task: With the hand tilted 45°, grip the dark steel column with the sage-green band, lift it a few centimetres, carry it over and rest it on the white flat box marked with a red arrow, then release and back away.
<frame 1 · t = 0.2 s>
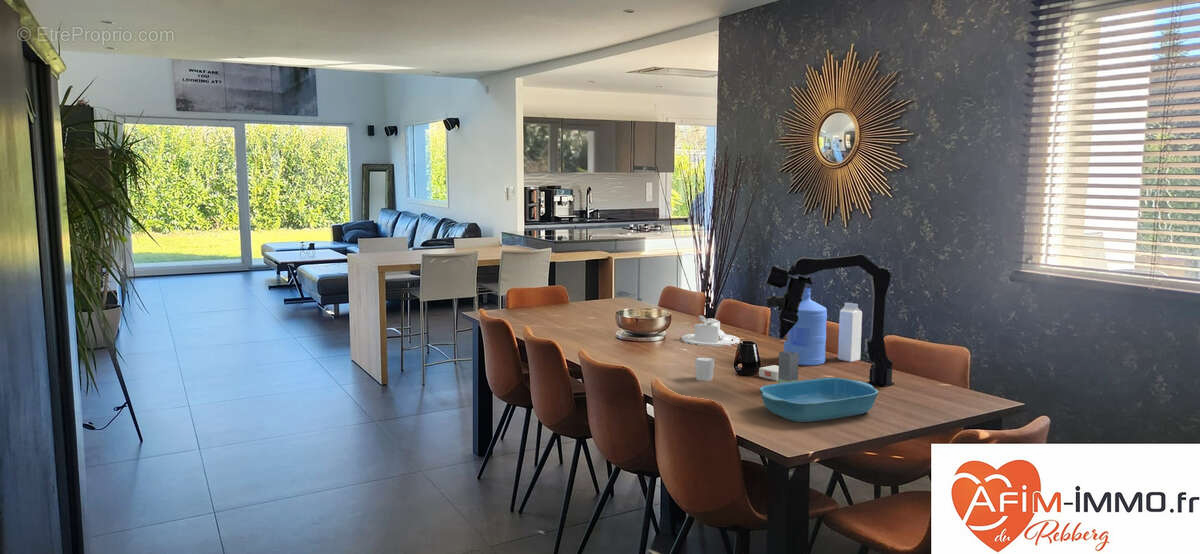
hand: (780, 335, 280), 15 cm above the table, tool tilted 15°, fingers open, 9 cm apart
white flat box: (775, 376, 285), on the table
water jug: (804, 362, 310), on the table
white cylinder: (704, 379, 282), on the table
column: (787, 388, 269), on the table
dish: (710, 341, 351), on the table
casserole dish: (817, 412, 243), on the table
milk: (849, 360, 314), on the table
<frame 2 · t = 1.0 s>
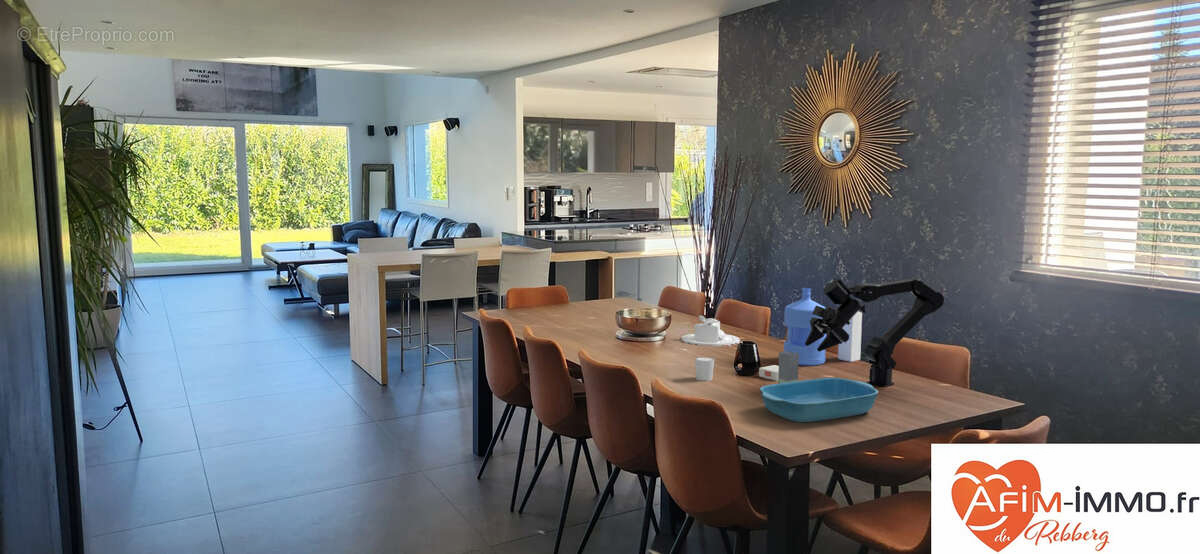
hand: (811, 347, 269), 13 cm above the table, tool tilted 45°, fingers open, 9 cm apart
nothing on the table moved.
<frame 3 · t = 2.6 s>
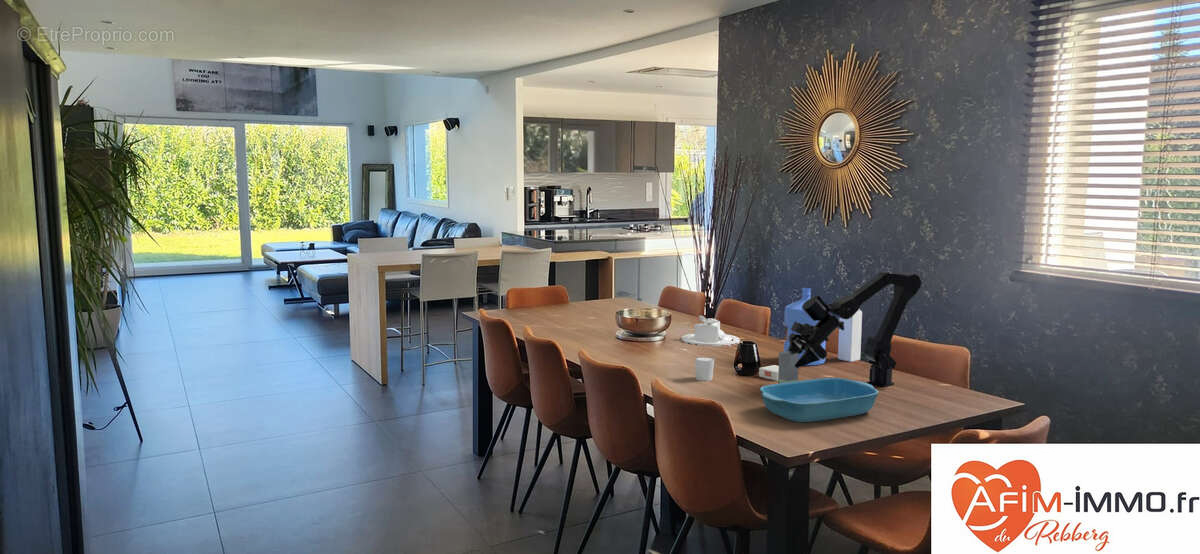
hand: (789, 363, 268), 8 cm above the table, tool tilted 45°, fingers open, 9 cm apart
nothing on the table moved.
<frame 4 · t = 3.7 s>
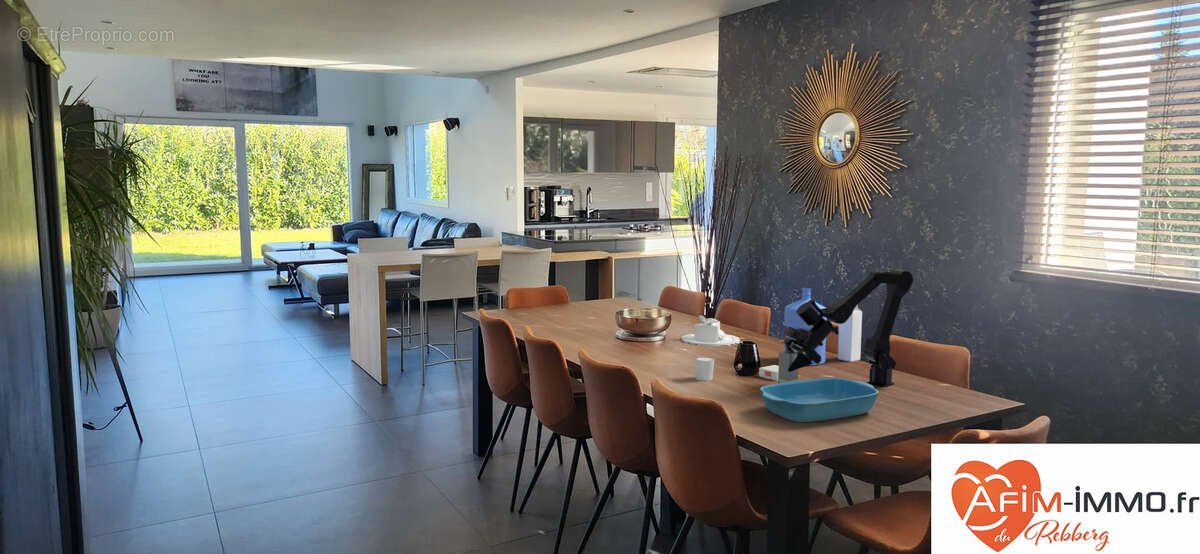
hand: (784, 368, 268), 7 cm above the table, tool tilted 45°, fingers closed on column, 6 cm apart
column: (787, 388, 269), on the table, touching gripper
everything else where it was.
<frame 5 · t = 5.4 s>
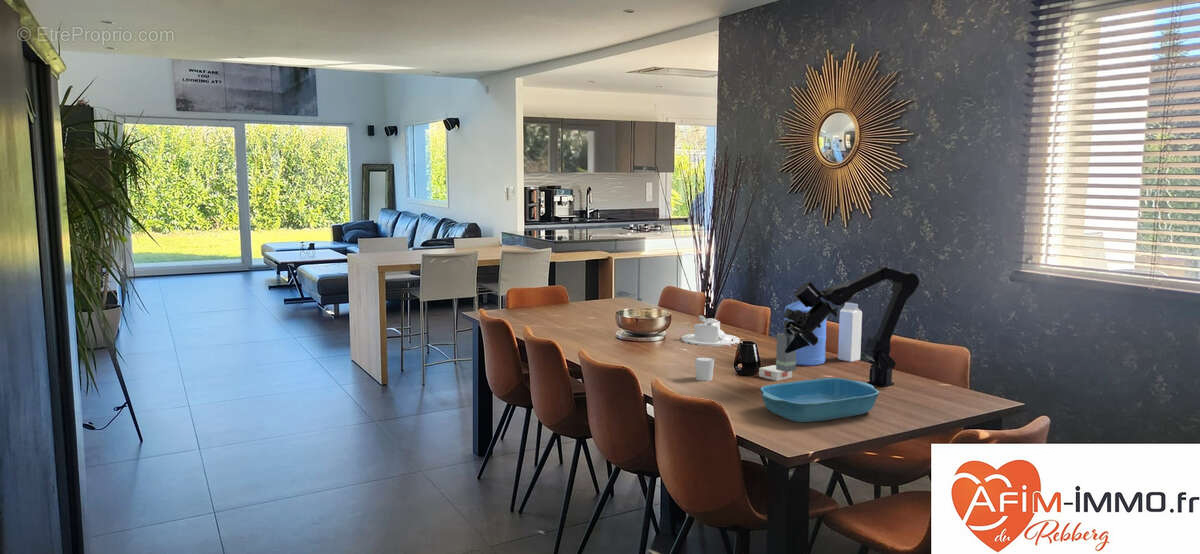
hand: (782, 350, 270), 12 cm above the table, tool tilted 45°, fingers closed on column, 6 cm apart
column: (785, 369, 270), point 6 cm above the table, touching gripper
everything else where it was.
when the fingers open (10 cm above the table, at t = 7.4 s): column stays where it is, resting on white flat box.
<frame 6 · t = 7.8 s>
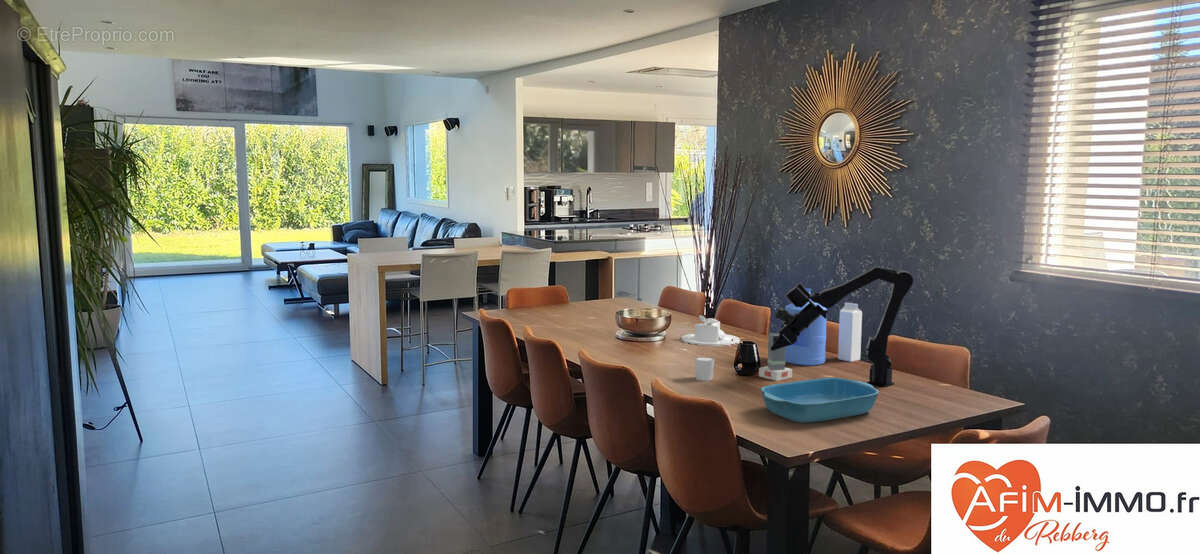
hand: (772, 347, 284), 11 cm above the table, tool tilted 45°, fingers open, 9 cm apart
column: (776, 368, 284), point 3 cm above the table, touching white flat box
everything else where it was.
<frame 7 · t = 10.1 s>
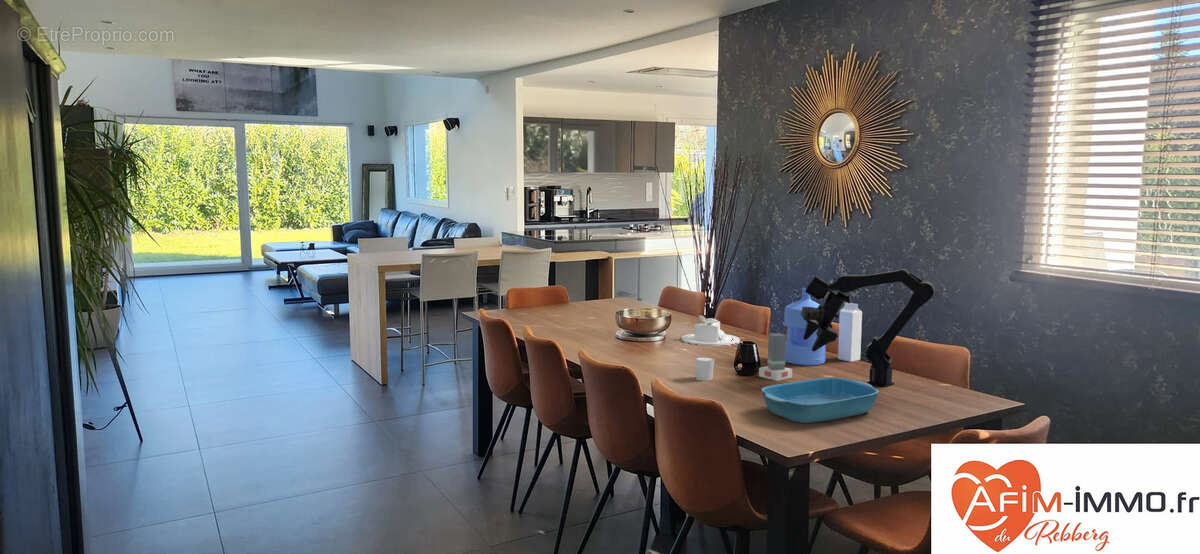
hand: (808, 345, 284), 11 cm above the table, tool tilted 30°, fingers open, 9 cm apart
nothing on the table moved.
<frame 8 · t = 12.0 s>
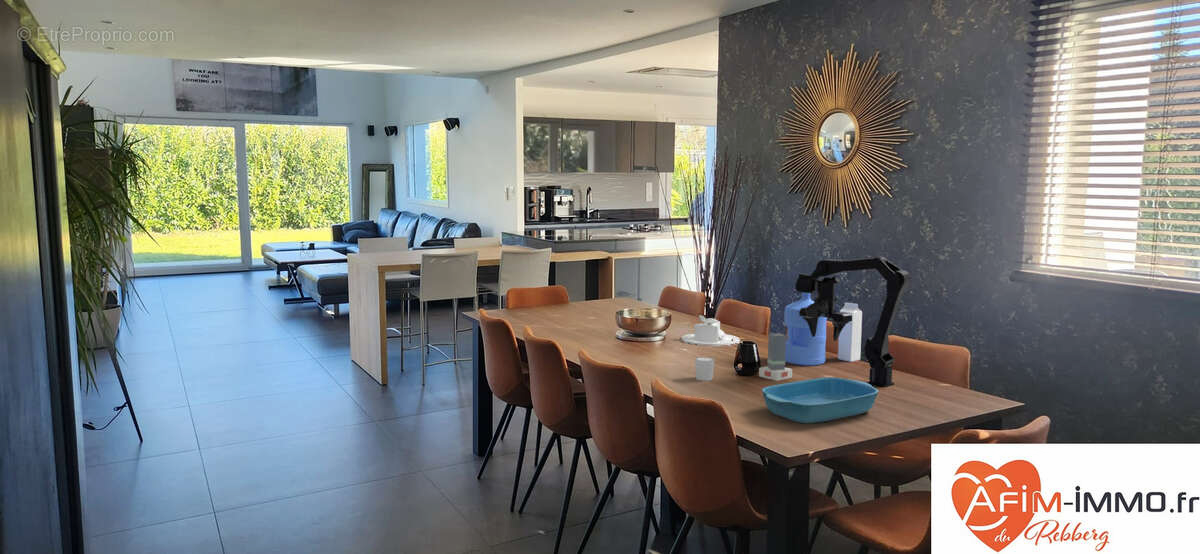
hand: (824, 338, 287), 13 cm above the table, tool pointing down, fingers open, 9 cm apart
nothing on the table moved.
at the end: column 0.1 cm off-centre on the white flat box, point 3.0 cm above the white flat box's base; column tilted 0°; the gripper is holding nothing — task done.
